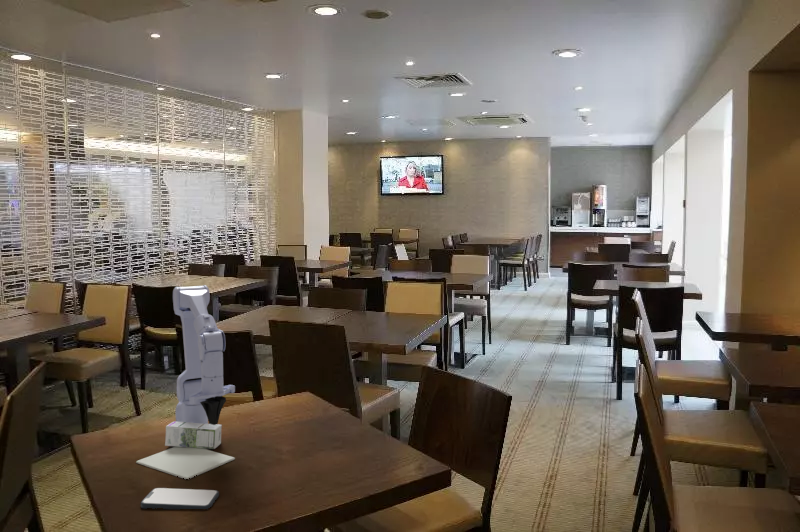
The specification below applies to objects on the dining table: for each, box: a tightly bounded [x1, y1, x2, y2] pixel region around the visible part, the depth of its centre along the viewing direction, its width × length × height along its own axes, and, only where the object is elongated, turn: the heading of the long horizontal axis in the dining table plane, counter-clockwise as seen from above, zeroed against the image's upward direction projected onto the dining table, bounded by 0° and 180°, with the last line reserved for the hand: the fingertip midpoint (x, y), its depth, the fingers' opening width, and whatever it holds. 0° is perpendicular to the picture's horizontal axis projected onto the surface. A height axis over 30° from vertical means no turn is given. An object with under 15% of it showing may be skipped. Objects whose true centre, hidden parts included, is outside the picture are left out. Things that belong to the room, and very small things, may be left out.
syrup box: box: [164, 420, 223, 450], centre depth 189 cm, size 6×6×14 cm
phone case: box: [140, 487, 220, 510], centre depth 155 cm, size 9×2×16 cm
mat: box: [135, 446, 236, 480], centre depth 179 cm, size 20×16×1 cm
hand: (213, 423), depth 184 cm, fingers closed
